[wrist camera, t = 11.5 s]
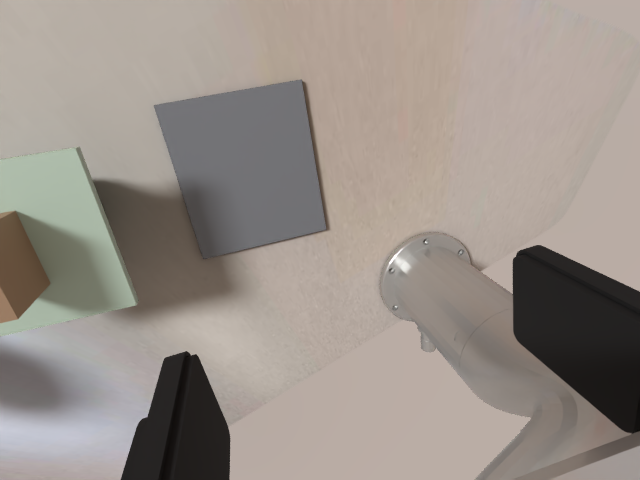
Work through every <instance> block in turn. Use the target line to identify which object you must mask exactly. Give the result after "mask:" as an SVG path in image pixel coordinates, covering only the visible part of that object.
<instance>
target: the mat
mask: <svg viewBox="0 0 640 480" xmlns="http://www.w3.org/2000/svg"><path fill="white" fill-rule="evenodd" d="M154 108H155V111H156V114H157V117H158V120H159V123H160V126H161V129H162V132H163V136H164V139H165V142H166V145H167V148H168V151H169V154H170V157H171V160H172V164H173V167H174V170H175V173H176V176H177V179H178V182H179V185H180V188H181V191H182V195H183V198H184V201H185V204H186V207H187V210H188V213H189V216H190V219H191V222H192V226H193V229H194V232H195V235H196V238H197V241H198V244H199V247H200V250H201V253H202V257H203V259H207V258H211V257H215V256H219V255H223V254H228V253H232V252H236V251H240V250H244V249H248V248H252V247H256V246H261V245H265V244H269V243H273V242H277V241H281V240H285V239H290V238H294V237H298V236H302V235H306V234H310V233H314V232H318V231H323V230H326V225H325V219H324V213H323V206H322V200H321V194H320V188H319V182H318V176H317V170H316V164H315V158H314V152H313V146H312V140H311V134H310V128H309V121H308V115H307V109H306V103H305V97H304V91H303V85H302V80H296V81H290V82H285V83H279V84H273V85H268V86H262V87H256V88H250V89H245V90H239V91H233V92H227V93H222V94H216V95H210V96H204V97H199V98H193V99H187V100H182V101H176V102H170V103H164V104H159V105H154Z"/></svg>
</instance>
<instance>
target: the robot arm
mask: <svg viewBox="0 0 640 480" xmlns="http://www.w3.org/2000/svg"><path fill="white" fill-rule="evenodd" d="M380 293H381V297H382V299H383V301H384V304H385V305H386V306H387V308H388V309H389V310H390V311H391V312H392V313H393V314H394V315H395V316H397V317H399V318H400V319H404V320H407V321H414V322H415V323H416V324H417V326H418V330H419V331H420V332H421V348H422V349H423V351H425V352H433V351H434V350H435V349H436V348H437V349H438V351H439V352H440V353H441V354H442V355H443V356H444V357H445V359H446V360H447V361H448V362H449V364H450V365H451V366H452V367H453V369H454V370H455V371H456V372H457V373H458V375H459V376H460V377H461V378H462V379H463V381H464V382H465V383H466V384H467V385H468V386H469V388H470V389H471V390H472V391H473V392H474V393H475V394H476V395H477V396H478V397H479V398H480V399H481V400H483V401H484V402H485V403H487V404H489V405H491V406H493V407H494V408H496V409H499V410H502V411H505V412H508V413H511V414H516V415H520V416H525V417H531V420H530V421H529V422H528V423H527V424H526V425H525V427H524V428H523V429H522V430H521V432H520V433H519V434H518V435H517V436H516V437H515V439H513V440H512V442H510V443H509V444H508V446H506V448H505V449H504V450H503V451H502V452H501V453H500V454H499V455H498V456H497V457H496V458H495V459H494V460H493V461H492V462H491V463H490V464H489V465H488V466H487V467H486V468H485V469H484V471H482V472H481V473H480V475H479V476H478V477H477V478H476V479H475V480H640V292H639V291H637V290H635V289H633V288H631V287H629V286H626V285H624V284H622V283H620V282H618V281H616V280H614V279H611V278H609V277H607V276H605V275H603V274H601V273H599V272H597V271H594V270H592V269H590V268H588V267H586V266H584V265H582V264H580V263H577V262H575V261H573V260H571V259H569V258H567V257H565V256H563V255H560V254H558V253H556V252H554V251H552V250H550V249H548V248H546V247H543V246H540V245H536V246H533V247H530V248H526V249H523V250H520V251H519V252H518V253H517V255H516V257H515V258H514V259H513V294H511V293H510V292H509V291H507V290H506V289H504V288H503V287H501V286H500V285H499V284H497V283H496V282H494V281H493V280H492V279H490V278H489V277H487V276H486V275H484V274H483V273H482V272H480V271H479V270H477V269H476V268H474V267H473V266H471V262H470V257H469V254H468V252H467V250H466V249H465V247H464V246H463V245H462V244H461V243H460V242H459V241H458V240H456V239H455V238H453V237H451V236H449V235H447V234H444V233H439V232H428V233H423V234H419V235H417V236H414V237H412V238H410V239H408V240H407V241H405V242H403V243H402V244H401V245H400V246H399V247H398V248H396V249H395V251H394V252H393V253H392V254H391V255H390V256H389V258H388V260H387V261H386V263H385V265H384V267H383V270H382V272H381V277H380ZM229 473H230V434H229V429H228V426H227V423H226V421H225V418H224V416H223V414H222V411H221V409H220V407H219V404H218V402H217V399H216V397H215V395H214V392H213V390H212V388H211V385H210V383H209V381H208V378H207V376H206V373H205V371H204V369H203V366H202V364H201V362H200V359H199V357H198V356H197V355H196V354H195V355H192V356H191V355H190V354H189V352H187V351H186V352H183V353H179V354H176V355H173V356H169V357H166V358H165V359H164V361H163V364H162V368H161V371H160V375H159V379H158V382H157V386H156V389H155V393H154V396H153V400H152V403H151V407H150V410H149V414H148V417H147V418H144V419H142V420H141V421H140V422H139V424H138V426H137V428H136V432H135V435H134V438H133V441H132V445H131V448H130V451H129V454H128V458H127V461H126V464H125V468H124V471H123V474H122V477H121V480H229Z"/></svg>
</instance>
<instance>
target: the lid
mask: <svg viewBox="0 0 640 480" xmlns="http://www.w3.org/2000/svg"><path fill="white" fill-rule="evenodd" d="M138 301H139V300H138V297H137V295H136V292H135V290H134V287H133V284H132V282H131V279H130V277H129V274H128V271H127V269H126V266H125V264H124V261H123V258H122V256H121V253H120V251H119V248H118V245H117V243H116V240H115V238H114V235H113V232H112V230H111V227H110V225H109V222H108V219H107V217H106V214H105V212H104V209H103V206H102V204H101V201H100V199H99V196H98V193H97V191H96V188H95V186H94V183H93V181H92V178H91V175H90V173H89V170H88V168H87V165H86V162H85V160H84V157H83V155H82V152H81V149H80V147H75V148H68V149H62V150H56V151H49V152H43V153H37V154H30V155H24V156H17V157H11V158H5V159H0V336H4V335H9V334H13V333H18V332H22V331H26V330H31V329H35V328H39V327H44V326H48V325H52V324H57V323H61V322H66V321H70V320H74V319H79V318H83V317H87V316H92V315H96V314H101V313H105V312H109V311H114V310H118V309H122V308H127V307H131V306H136V305H137V303H138Z"/></svg>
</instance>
